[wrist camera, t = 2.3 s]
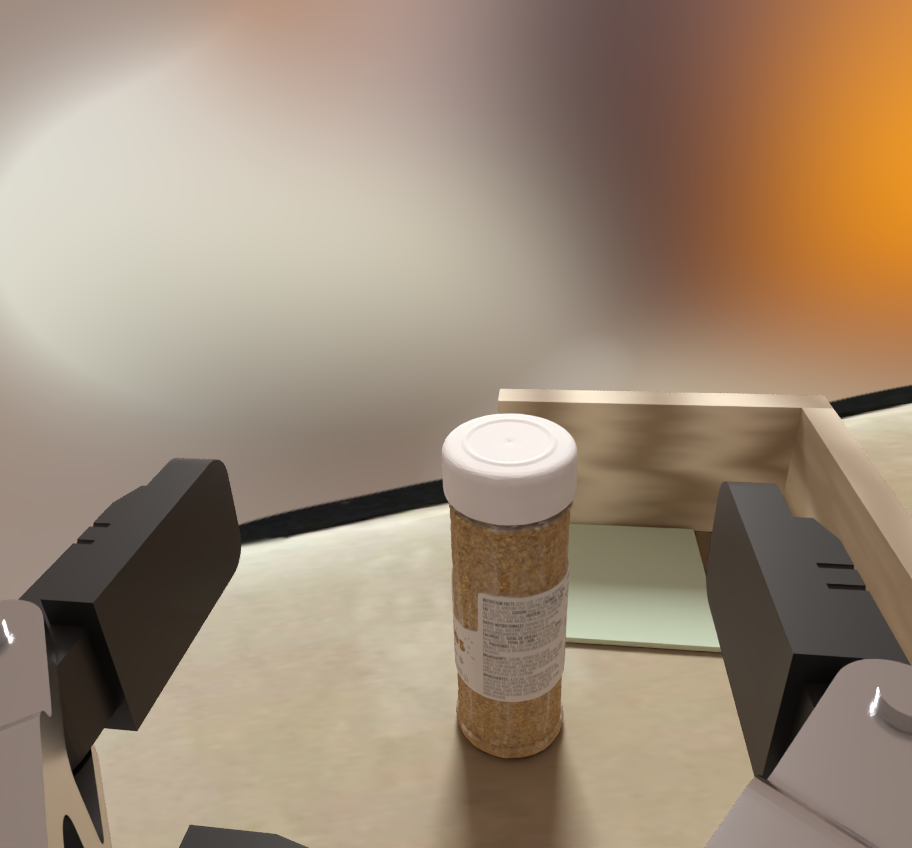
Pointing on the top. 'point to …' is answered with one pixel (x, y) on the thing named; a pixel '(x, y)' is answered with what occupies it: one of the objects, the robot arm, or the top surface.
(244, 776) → the top surface
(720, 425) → the light wood l-shaped panel
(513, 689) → the sprinkles bottle
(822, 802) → the robot arm
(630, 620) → the pad
